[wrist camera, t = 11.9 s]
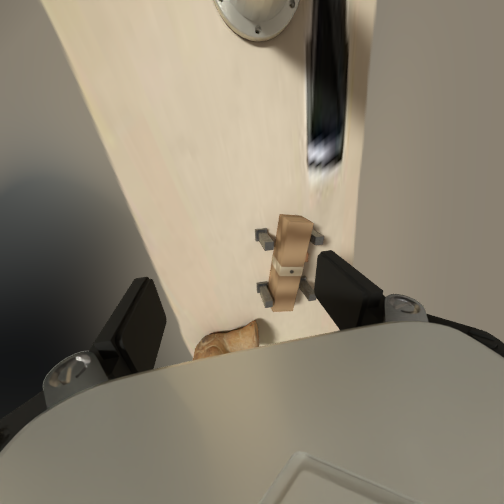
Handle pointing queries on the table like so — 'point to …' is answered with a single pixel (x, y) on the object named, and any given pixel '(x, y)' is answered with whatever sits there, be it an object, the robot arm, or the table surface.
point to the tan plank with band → (288, 260)
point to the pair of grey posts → (267, 297)
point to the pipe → (228, 342)
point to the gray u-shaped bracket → (269, 243)
